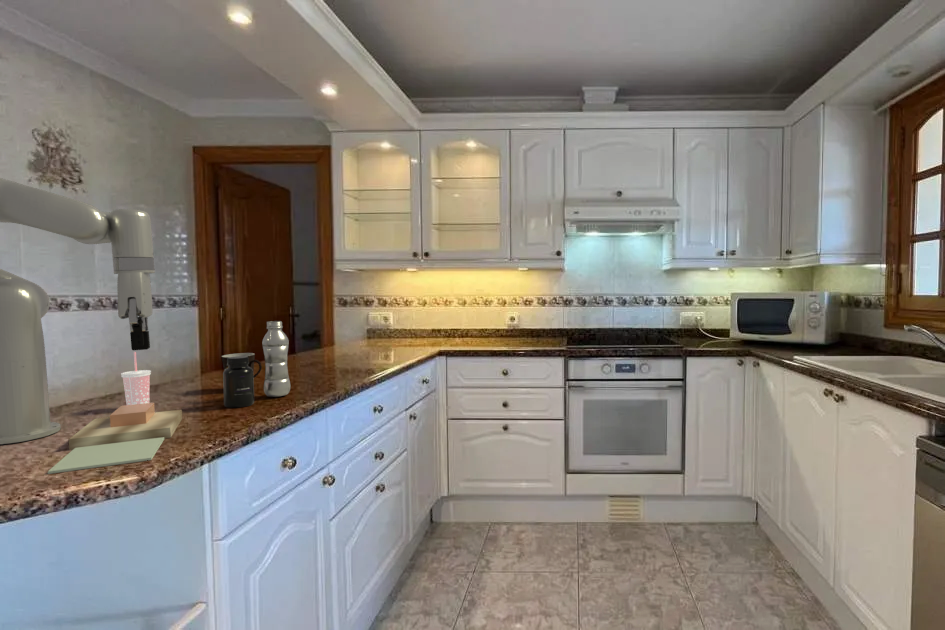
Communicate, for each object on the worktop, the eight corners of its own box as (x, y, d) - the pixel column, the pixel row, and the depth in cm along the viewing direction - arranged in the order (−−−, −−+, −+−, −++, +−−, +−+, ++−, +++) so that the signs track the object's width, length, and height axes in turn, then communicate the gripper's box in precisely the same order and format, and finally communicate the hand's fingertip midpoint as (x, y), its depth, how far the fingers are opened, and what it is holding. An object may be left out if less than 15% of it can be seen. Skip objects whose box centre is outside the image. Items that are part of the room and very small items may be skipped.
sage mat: (47, 474, 79) (47, 471, 79) (75, 450, 91) (75, 447, 91) (151, 460, 84) (151, 457, 84) (164, 439, 96) (164, 437, 96)
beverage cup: (158, 404, 126) (154, 349, 125) (143, 410, 120) (140, 353, 119) (133, 405, 126) (129, 350, 125) (117, 411, 120) (113, 353, 119)
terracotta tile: (110, 427, 98) (109, 415, 98) (122, 416, 107) (121, 405, 106) (146, 423, 101) (145, 411, 100) (154, 413, 109) (154, 402, 109)
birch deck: (69, 450, 91) (68, 439, 91) (95, 427, 106) (94, 418, 105) (170, 437, 97) (170, 427, 97) (182, 418, 112) (181, 409, 112)
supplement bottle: (242, 408, 120) (240, 359, 119) (218, 408, 121) (215, 359, 120) (260, 402, 126) (258, 355, 126) (236, 401, 128) (234, 355, 127)
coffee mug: (219, 390, 143) (217, 355, 143) (249, 385, 149) (248, 352, 149) (233, 395, 135) (231, 359, 134) (265, 390, 141) (263, 355, 140)
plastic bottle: (265, 395, 135) (261, 321, 134) (291, 392, 137) (288, 320, 136) (262, 400, 129) (259, 323, 128) (290, 397, 131) (287, 321, 130)
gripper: (122, 268, 115) (128, 347, 116) (104, 265, 101) (111, 355, 102) (160, 267, 118) (166, 344, 119) (147, 264, 104) (154, 351, 105)
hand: (141, 349), depth 111 cm, fingers closed
